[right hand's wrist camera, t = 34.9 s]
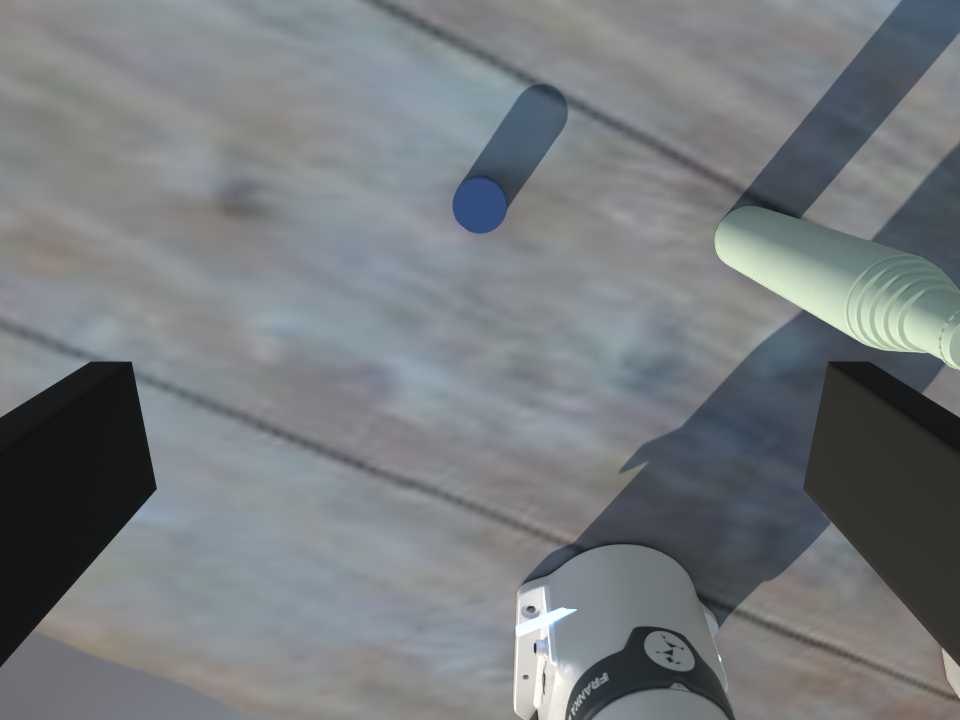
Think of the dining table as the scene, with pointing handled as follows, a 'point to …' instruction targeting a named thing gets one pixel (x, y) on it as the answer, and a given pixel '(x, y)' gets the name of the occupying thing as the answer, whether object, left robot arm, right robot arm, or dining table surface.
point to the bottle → (847, 281)
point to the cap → (479, 204)
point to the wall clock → (952, 672)
